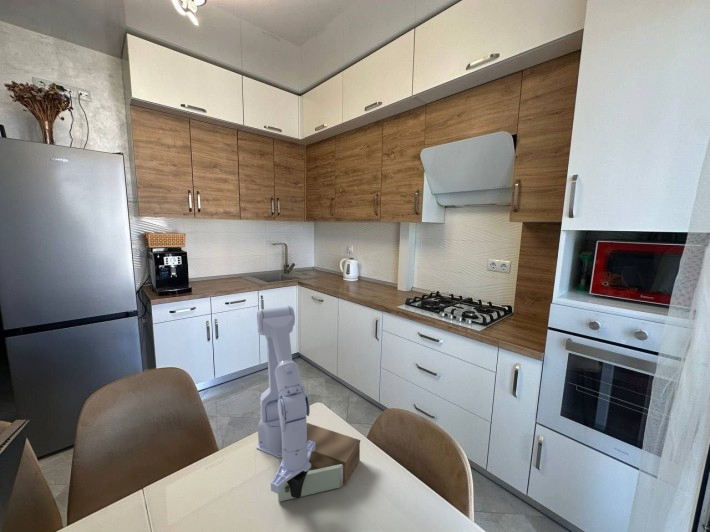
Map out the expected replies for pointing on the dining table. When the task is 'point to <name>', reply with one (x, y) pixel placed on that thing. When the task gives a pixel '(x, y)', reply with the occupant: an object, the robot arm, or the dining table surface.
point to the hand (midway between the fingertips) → (296, 496)
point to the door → (316, 482)
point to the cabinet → (333, 450)
